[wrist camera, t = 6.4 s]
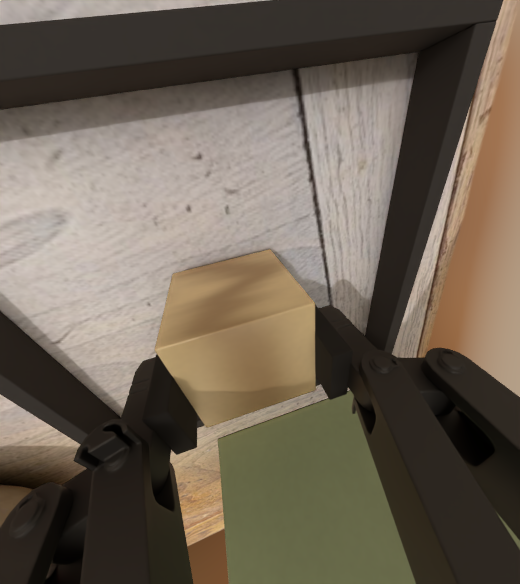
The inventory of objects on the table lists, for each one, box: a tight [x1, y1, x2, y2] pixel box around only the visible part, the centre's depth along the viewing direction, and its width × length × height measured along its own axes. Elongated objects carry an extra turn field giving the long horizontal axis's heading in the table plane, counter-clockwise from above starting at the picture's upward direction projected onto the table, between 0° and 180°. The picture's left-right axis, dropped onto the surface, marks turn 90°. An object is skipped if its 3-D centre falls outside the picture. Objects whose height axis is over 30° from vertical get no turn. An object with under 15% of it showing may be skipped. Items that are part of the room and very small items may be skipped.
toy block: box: [155, 250, 316, 428], centre depth 11 cm, size 6×6×6 cm
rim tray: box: [0, 0, 503, 444], centre depth 13 cm, size 26×22×2 cm
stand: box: [218, 391, 520, 584], centre depth 22 cm, size 24×15×18 cm, turn 99°
